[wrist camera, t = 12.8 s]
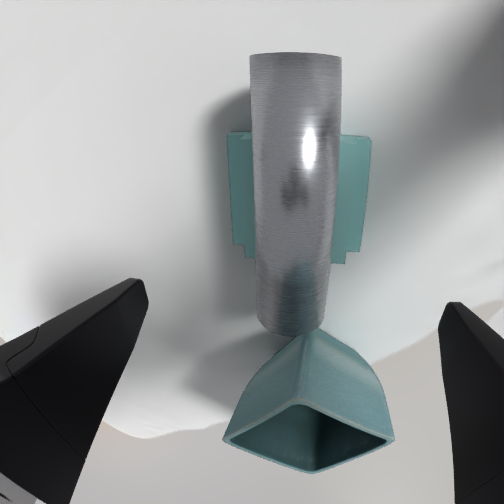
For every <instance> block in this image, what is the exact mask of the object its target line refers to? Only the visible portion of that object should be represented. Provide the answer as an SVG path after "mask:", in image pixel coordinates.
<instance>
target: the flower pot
mask: <svg viewBox="0 0 504 504" xmlns="http://www.w3.org/2000/svg"><path fill="white" fill-rule="evenodd" d="M222 440H223V441H224V442H225V443H227V444H229V445H231V446H234V447H236V448H238V449H241V450H243V451H246V452H248V453H251V454H253V455H256V456H258V457H261V458H263V459H266V460H269V461H272V462H274V463H277V464H280V465H282V466H285V467H288V468H292V469H295V470H297V471H300V472H304V473H308V474H315V473H319V472H322V471H325V470H328V469H330V468H333V467H335V466H338V465H341V464H343V463H346V462H348V461H351V460H354V459H356V458H359V457H361V456H364V455H366V454H369V453H371V452H374V451H376V450H378V449H381V448H383V447H385V446H387V445H389V444H391V443H392V442H394V440H395V437H394V432H393V428H392V424H391V419H390V414H389V410H388V406H387V402H386V398H385V394H384V391H383V388H382V385H381V383H380V381H379V379H378V377H377V375H376V374H375V372H374V371H373V369H372V368H371V367H370V365H369V364H368V363H367V362H366V361H365V360H364V359H363V358H362V357H361V356H360V355H359V354H358V353H357V352H356V351H355V350H353V349H352V348H350V347H349V346H347V345H345V344H344V343H342V342H340V341H339V340H337V339H335V338H334V337H332V336H331V335H329V334H328V333H326V332H324V331H323V330H321V329H320V328H317V329H315V330H314V331H312V332H310V333H308V334H305V335H300V336H297V337H296V338H294V339H293V340H292V341H291V342H290V343H289V344H287V345H286V346H285V347H284V348H283V349H281V350H280V351H279V352H278V353H276V354H275V355H274V356H273V357H272V358H271V359H270V360H269V361H268V362H267V363H265V364H264V365H263V366H262V367H261V369H260V370H259V371H258V372H257V373H256V374H255V375H254V377H253V378H252V379H251V381H250V382H249V384H248V385H247V387H246V388H245V390H244V392H243V394H242V396H241V398H240V400H239V402H238V405H237V407H236V409H235V411H234V414H233V416H232V418H231V420H230V423H229V425H228V427H227V430H226V432H225V434H224V437H223V439H222Z"/></svg>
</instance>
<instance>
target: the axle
mask: <svg viewBox="0 0 504 504" xmlns="http://www.w3.org/2000/svg"><path fill="white" fill-rule="evenodd" d="M249 59H250V89H251V119H252V150H253V182H254V215H255V249H256V284H257V316H258V319H259V321H260V323H261V324H262V325H263V326H264V327H265V328H266V329H267V330H269V331H271V332H273V333H276V334H279V335H283V336H300V335H305V334H308V333H310V332H312V331H314V330H315V329H317V328H318V327H319V326H320V325H321V323H322V321H323V319H324V312H325V305H326V297H327V290H328V282H329V273H330V265H331V256H332V246H333V236H334V225H335V214H336V202H337V188H338V173H339V154H340V131H341V82H342V69H341V57H338V56H333V55H326V54H317V53H299V52H280V53H263V54H255V55H251V56H249Z"/></svg>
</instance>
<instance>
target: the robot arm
mask: <svg viewBox="0 0 504 504" xmlns="http://www.w3.org/2000/svg"><path fill="white" fill-rule="evenodd" d="M148 304H149V302H148V297H147V294H146V290H145V286H144V283H143V281H142V280H141V279H135V278H129V279H127V280H125V281H123V282H121V283H119V284H117V285H115V286H113V287H111V288H109V289H107V290H105V291H103V292H101V293H100V294H98V295H96V296H94V297H92V298H90V299H88V300H86V301H84V302H82V303H81V304H79V305H77V306H75V307H73V308H71V309H69V310H67V311H66V312H64V313H62V314H60V315H58V316H56V317H54V318H53V319H51V320H49V321H47V322H45V323H43V324H41V325H40V327H39V326H38V327H36V328H34V329H32V330H30V331H29V332H27V333H25V334H23V335H21V336H19V337H17V338H15V339H13V340H11V341H9V342H7V343H5V344H3V345H1V346H0V504H35V502H36V500H37V498H38V499H39V500H41V501H43V502H44V503H46V504H69V503H70V500H71V498H72V495H73V492H74V489H75V487H76V484H77V481H78V479H79V476H80V473H81V471H82V468H83V465H84V463H85V459H86V457H87V455H88V452H89V450H90V447H91V445H92V442H93V440H94V437H95V435H96V432H97V430H98V428H99V425H100V423H101V421H102V418H103V416H104V413H105V411H106V409H107V407H108V404H109V402H110V400H111V397H112V395H113V393H114V390H115V388H116V386H117V384H118V382H119V379H120V377H121V375H122V373H123V370H124V368H125V366H126V364H127V362H128V360H129V357H130V355H131V353H132V351H133V349H134V346H135V343H136V341H137V338H138V335H139V332H140V329H141V326H142V323H143V321H144V318H145V315H146V312H147V309H148ZM438 334H439V343H440V353H441V365H442V376H443V382H444V388H445V394H446V401H447V407H448V415H449V422H450V432H451V441H452V453H453V465H454V491H455V504H504V339H503V338H502V337H501V336H500V335H499V334H497V333H496V332H495V331H494V330H493V329H492V328H491V327H489V326H488V325H487V324H486V323H485V322H484V321H483V320H481V319H480V318H479V317H478V316H477V315H475V314H474V313H473V312H472V311H471V310H470V309H468V308H467V307H466V306H465V305H463V304H462V303H461V302H449V303H447V305H446V307H445V309H444V312H443V315H442V317H441V320H440V322H439V326H438Z"/></svg>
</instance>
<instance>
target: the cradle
mask: <svg viewBox="0 0 504 504" xmlns="http://www.w3.org/2000/svg"><path fill="white" fill-rule="evenodd" d="M371 142H372V140H371V139H370V138H369V137H361V136H350V135H340V154H339V173H338V188H337V202H336V214H335V225H334V236H333V246H332V256H331V263H337V264H345V258H346V251H349V252H360V245H361V238H362V231H363V223H364V216H365V207H366V199H367V189H368V179H369V168H370V156H371ZM227 147H228V165H229V183H230V199H231V215H232V231H233V244H239V245H244V251H245V257H247V258H256V249H255V215H254V182H253V150H252V132H230V133H229V134H227Z"/></svg>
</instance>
